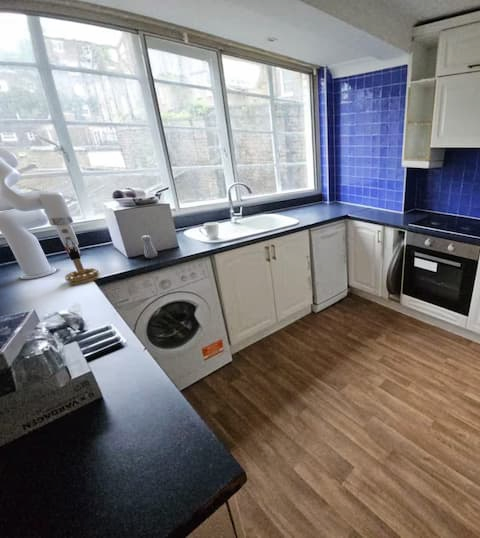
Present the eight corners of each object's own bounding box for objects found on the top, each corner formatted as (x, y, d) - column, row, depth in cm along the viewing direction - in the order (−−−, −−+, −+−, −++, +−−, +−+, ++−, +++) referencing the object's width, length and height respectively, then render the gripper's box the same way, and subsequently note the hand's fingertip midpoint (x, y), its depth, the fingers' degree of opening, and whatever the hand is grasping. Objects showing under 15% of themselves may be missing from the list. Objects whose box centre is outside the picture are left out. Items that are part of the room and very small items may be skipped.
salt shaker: (143, 260, 161) (135, 237, 156) (152, 256, 166) (145, 234, 161) (152, 260, 159) (144, 237, 154) (160, 257, 165) (154, 234, 160)
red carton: (72, 254, 173) (64, 235, 169) (83, 253, 174) (75, 234, 170) (66, 257, 168) (57, 237, 164) (77, 256, 170) (69, 236, 165)
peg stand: (71, 280, 138) (62, 259, 134) (96, 274, 143) (88, 254, 140) (72, 285, 132) (62, 264, 128) (97, 279, 137) (89, 259, 133)
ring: (66, 277, 138) (64, 272, 137) (98, 270, 145) (96, 265, 144) (66, 284, 130) (64, 279, 129) (100, 276, 137) (98, 272, 136)
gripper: (74, 222, 128) (87, 259, 135) (70, 216, 139) (83, 250, 146) (50, 225, 123) (65, 264, 130) (48, 218, 134) (63, 254, 141)
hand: (75, 256), depth 138 cm, fingers open, 8 cm apart
